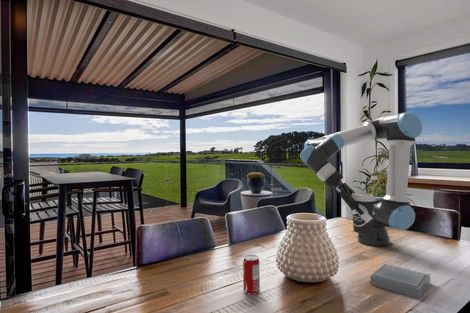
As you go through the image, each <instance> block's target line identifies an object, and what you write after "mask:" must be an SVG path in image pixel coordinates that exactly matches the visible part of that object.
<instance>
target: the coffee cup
mask: <svg viewBox="0 0 470 313" xmlns="http://www.w3.org/2000/svg"><path fill="white" fill-rule="evenodd" d="M351 196H352V197H353V199H354V200H355V201H356V202H357V204H358V205H360V206H361V207H362V208H363V209H364V210H365V211H366V212H367V213H368V214H369V215H370V216H371V217H372V218H373V210H374V201H376V199H375V197H376V196H374V194H373V193H368V192H355V193H352V195H351ZM351 214H352V227H353V233H358V234H359V233H361V234H370V233H371V230H372V220H373V219H371V220H370V221H369V222H368V223H366V222H365V221H364V220H363V218H362V217H361V216H360V215H359V214H358V213H357V212H356V211H355V210H353V211H352V210H351Z"/></svg>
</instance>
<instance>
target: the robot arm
mask: <svg viewBox="0 0 470 313" xmlns="http://www.w3.org/2000/svg"><path fill="white" fill-rule="evenodd" d="M422 131H423V123H422V120H421V119H420V117H419V116H418V115H417V114H415V113H414V112H401V113H395V114H389V115H388V114H387V115H383V116H380V117H378V118H376V119H373V120H369V121H366V122H363V124H362V125H360V126H355V127H352V128H348V129H345V130H342V131H338V132H333V133H331V134H327V135H324V136H321V137H320V136H319V137H317V138H310V139H307V140H306V141H305V142H304V143H303V149H302V151H300V154H299V157H300V159H301V160H302V162H303V163H304V164H305V166H307V167H308V168H310V170H311V171H312V172H313V173H314V174H315V175H316V176H317V179H320V180H321V182H323V183H324V184H325V186H326V187H328V188H329V189H332V188H333V187H334V191H335V193H337V195H339V197H340V198H341V199H342V200H343V201H344V203H346V205H347V206H348V207H349V209H350V210H351V212H352V211H353V210H355V211H356V212H357V213H358V214H359V215H360V216H361V217H362V218H363V220H364V221H365V222H366V223H368V222H369V221H370V220H371V219H373V220H372V230H371V233H370V234H361V233H358V234H357V241H358V242H359V243H361V244H363V245H367V246H371V247H386V246H389V245H390V244H391V238H390V235H389V232H388V229H387V227H388V228H390V229H393V230H399V231H405V230H407V229H409V228H410V227H411V226H413V224H414V222H415V219H416V213H415V210H414V208H413V207H412V206H410V205H411V201H410V199H408V197H407V195H408V182H409V173H410V172H409V170H410V161H411V160H410V159H411V146H413V145H414V144H415V142H416V138H417V137H419V136H420V134H422ZM385 139H386V143H387V144H388V145H389V151H388V154H389V155H388V162H387V163H388V165H387V166H388V167H387V175H386V176H387V178H386V186H385V187H386V188H385V189H386V190H385V195H383V196H374V197H375V199H376V201H374V210H373V218H372V217H371V216H370V215H369V214H368V213H367V212H366V211H365V210H364V209H363V208H362V207H361V206H360V205H358V204H357V202H356V201H355V200H354V199H353V197H352V196H351V195H352V193H356V191H355V190H354V189H352V188H351V187H350V186H349V185H348V183H347V182H343V181H341V180H342V179H344V176H343V174H341V172H340V171H339V170H337V169H336V167H335V166H333V164H332V163H331V162H329V159H330V158H332V157H333V156H334V155H336V154H337V153H338V152H340V151H341V150H342V149H343V148H344V147H347V146H350V145H354V144H357V143H360V142H363V141H375V140H385Z"/></svg>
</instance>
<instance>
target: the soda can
mask: <svg viewBox="0 0 470 313" xmlns="http://www.w3.org/2000/svg"><path fill="white" fill-rule="evenodd" d="M259 259H260V258H259V256H258V255H256V254H246V255H244V257H243V262H242V265H243V266H242V268H243V269H242V273H243V274H242V275H243V276H242V277H243V278H242V279H243V292H244V291H245V292H246V293H249V294H254V295H256V294H255V293H257V294H258V293H259V292H260V290H261V285H260V284H261V282H260V279H261V278H260V273H261V272H260V260H259ZM245 292H244V293H245ZM246 293H245V294H246ZM249 294H248V295H249Z"/></svg>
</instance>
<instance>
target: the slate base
mask: <svg viewBox="0 0 470 313" xmlns="http://www.w3.org/2000/svg"><path fill="white" fill-rule="evenodd" d="M430 284H431V274H428V273H424V272H420V271H416V270H412V269H407V268H403V267H399V266H395V265H391V264H387V263H384V264H383V265H382V266H380V267H379V268H378V269H377V270H376V271H374V272H373V273H372V274H371V275H370V285H372V286H376V287H378V288H381V289H386V290H388V291H391V292H396V293H399V294H402V295H405V296H409V297H413V298H415V299H419V300H420V299H421V298H422V296H423V294H424V293H425V292H426V290H427V289H428V287H429V286H430Z"/></svg>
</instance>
